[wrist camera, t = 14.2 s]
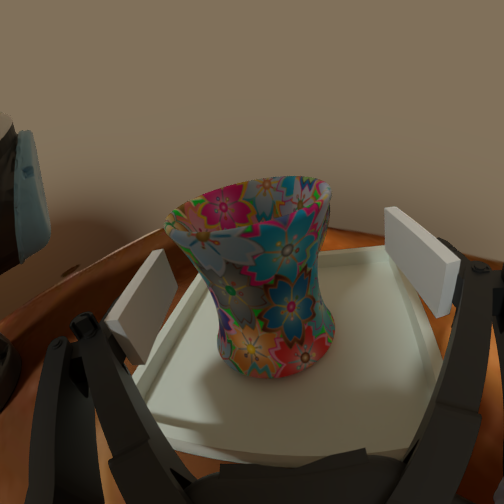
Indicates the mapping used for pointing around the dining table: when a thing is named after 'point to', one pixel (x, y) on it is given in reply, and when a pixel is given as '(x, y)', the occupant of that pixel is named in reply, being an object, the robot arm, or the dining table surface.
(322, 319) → the mug
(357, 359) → the tray
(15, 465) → the dining table surface
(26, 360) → the dining table surface
